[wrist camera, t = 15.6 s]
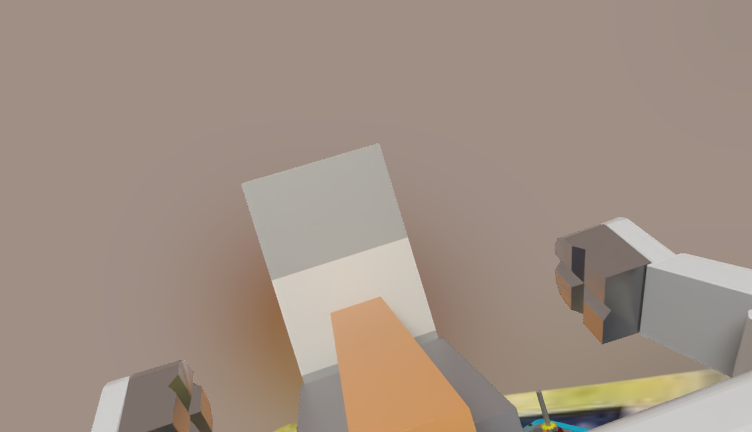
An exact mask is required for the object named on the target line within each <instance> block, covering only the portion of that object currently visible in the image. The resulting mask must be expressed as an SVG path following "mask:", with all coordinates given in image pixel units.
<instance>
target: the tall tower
mask: <svg viewBox="0 0 752 432" xmlns="http://www.w3.org/2000/svg"><path fill="white" fill-rule="evenodd" d="M241 185H242V188H243V191H244V194H245V197H246V201H247V204H248V207H249V210H250V213H251V217H252V220H253V223H254V226H255V229H256V233H257V236H258V239H259V242H260V245H261V248H262V252H263V254H264V258H265V261H266V264H267V267H268V271H269V274H270V277H271V280H272V283H273V286H274V289H275V293H276V296H277V299H278V302H279V305H280V309H281V312H282V315H283V318H284V321H285V324H286V328H287V331H288V334H289V337H290V340H291V343H292V347H293V350H294V353H295V356H296V359H297V362H298V366H299V369H300V372H301V375H302V378H303V381H304V384H306V383H309V382H312V381H315V380H318V379H321V378H324V377H326V376H329V375H332V374H335V373H338V372H339V366H338V360H337V353H336V347H335V340H334V334H333V327H332V321H331V314H330V313H331V312H334V311H337V310H340V309H343V308H347V307H350V306H353V305H356V304H359V303H362V302H365V301H368V300H371V299H374V298H377V297H380V296H381V297H382V299H383V300H384V301H385V303H386V304H387V305H388V306H389V308H390V309H391V310H392V311H393V313H394V314H395V315H396V316H397V318H398V319H399V320H400V321H401V323H402V324H403V325H404V326H405V328H406V329H407V330H408V331H409V333H410V334H411V335H412V337H413V338H414V339H415V340H416V342H417V343H418V344H419V345H420V344H423V343H426V342H429V341H432V340H435V339H437V338H438V335H437V332H436V329H435V326H434V322H433V319H432V316H431V312H430V309H429V306H428V303H427V300H426V296H425V293H424V289H423V286H422V283H421V280H420V276H419V273H418V270H417V267H416V263H415V260H414V257H413V254H412V250H411V247H410V243H409V240H408V237H407V233H406V230H405V227H404V224H403V220H402V217H401V214H400V211H399V207H398V204H397V201H396V197H395V194H394V191H393V187H392V184H391V181H390V178H389V174H388V171H387V168H386V164H385V161H384V158H383V155H382V151H381V148H380V145H379V143H378V144H374V145H371V146H367V147H364V148H361V149H357V150H354V151H351V152H347V153H344V154H340V155H337V156H333V157H330V158H327V159H323V160H320V161H317V162H313V163H310V164H306V165H303V166H300V167H296V168H293V169H290V170H286V171H283V172H279V173H276V174H272V175H269V176H266V177H262V178H259V179H256V180H252V181H249V182H245V183H242V184H241Z"/></svg>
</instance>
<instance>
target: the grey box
mask: <svg viewBox="0 0 752 432" xmlns="http://www.w3.org/2000/svg"><path fill="white" fill-rule="evenodd" d="M420 347H421V348H422V349H423V350H424V352H425V353H426V354H427V355H428V357H429V358H430V359H431V360H432V362H433V363H434V364H435V365H436V367H437V368H438V369H439V371H440V372H441V373H442V374H443V376H444V377H445V378H446V379H447V381H448V382H449V383H450V384H451V386H452V387H453V388H454V389H455V391H456V392H457V393H458V394H459V396H460V397H461V398H462V399H463V401H464V402H465V403H466V405H467V406H468V407H469V408H470V412H471V415H472V418H473V422H474V425H475V428H476V431H477V432H523V429H522V426H521V423H520V419H519V416H518V413H517V409H516V407H514V406H513V405H512V404H511V403H510V402H509V401H508V400H507V399H506V398H505V397H504V396H503V395H502V394H501V393H500V392H499V391H498V390H497V389H496V388H495V387H494V386H493V385H492V384H491V383H490V382H489V381H488V380H487V379H486V378H485V377H483V375H482V374H481V373H479V372H478V371H477V370H476V369H475V368H474V367H473V366H472V365H471V364H470V363H469V362H468V361H467V360H466V359H465V358H464V357H463V356H462V355H461V354H460V353H459V352H458V351H456V349H455V348H454V347H453V346H452V345H451V344H450V343H449V342H448V341H446V339H444V338H443V337H441V338H437V339H435V340H432V341H429V342H426V343H423V344H420ZM297 432H349V431H348V424H347V418H346V411H345V405H344V398H343V392H342V386H341V379H340V373H339V372H338V373H335V374H332V375H329V376H326V377H324V378H321V379H318V380H315V381H312V382H309V383H306V384H303V385H301V390H300V402H299V413H298V425H297Z"/></svg>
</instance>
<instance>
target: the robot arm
mask: <svg viewBox="0 0 752 432" xmlns="http://www.w3.org/2000/svg"><path fill="white" fill-rule="evenodd" d="M555 254H556V255H557V256H558V257H559V259H560V260H561V261H560V263H559V265H558V266H557V268H556V270H555V274H556V283H557V286H558V289H559V292H560V295H561V296H562V298H563V300H564V301H565V303H566V304H567V305H568V306H569V307H570V308H571V310H574V311H577V312H579V313H582V314H583V318H584V319H583V323H584V324H585V326H586V327H587V328H588V329H589V330H590V331H591V332H592V333H593V335H594V336H595V337H596V338H597V339H598V340H599V341H600V342H601V343H602V344H604V343H608V342H611V341H614V340H617V339H620V338H623V337H627V336H630V335H633V334H636V333H639V332H640V335H642V336H644V337H646V338H648V339H651V340H653V341H655V342H657V343H659V344H661V345H663V346H666V347H668V348H670V349H672V350H674V351H676V352H679V353H681V354H683V355H685V356H687V357H689V358H692V359H694V360H696V361H698V362H700V363H702V364H704V365H706V366H709V367H711V368H713V369H715V370H717V371H719V372H721V373H724V374H726V375H728V376H730V377H731V378H730V379H727V380H724V381H721V382H719V383H716V384H713V385H711V386H708V387H705V388H702V389H700V390H697V391H694V392H692V393H689V394H686V395H683V396H681V397H678V398H675V399H673V400H670V401H667V402H664V403H662V404H659V405H656V406H654V407H651V408H648V409H645V410H643V411H640V412H637V413H635V414H632V415H629V416H626V417H624V418H621V419H618V420H616V421H613V422H610V423H607V424H605V425H602V426H599V427H597V428H594V429H591V430H588V431H586V432H752V269H747V268H743V267H739V266H735V265H731V264H727V263H722V262H718V261H714V260H710V259H705V258H702V257H697V256H693V255H689V254H685V253H682V254H679V255H676V254H674V253H673V252H672V251H670V250H669V249H668V248H666V247H665V246H663V245H662V244H661V243H659V242H658V241H656V240H655V239H654V238H653V237H651V236H650V235H649V234H647V233H646V232H645V231H643V230H642V229H640V228H639V227H638V226H636V225H635V224H633V223H632V222H631V221H630V220H628V219H627V218H623V217H619V218H616V219H613V220H610V221H607V222H604V223H601V224H599V225H597V226H594V227H591V228H588V229H585V230H582V231H578V232H576V233H573V234H569V235H566V236H564V237H561V238H558V239H557V241H556V244H555ZM91 432H212V414H211V408H210V404H209V401H208V398H207V395H206V393H205V392H204V390H203V388H202V387H201V386H199V385H197V384H194V383H193V371H192V369H191V367H190V366H189V364H188V363H187V361H184V360H179V361H176V362H173V363H169V364H166V365H163V366H159V367H156V368H153V369H149V370H146V371H143V372H139V373H136V374H133V375H131V376H127V377H124V378H121V379H118V380H114V381H111V382H108V383H107V384H106V385H105V387H104V388H103V390H102V393H101V397H100V401H99V404H98V408H97V412H96V416H95V419H94V423H93V426H92V430H91Z"/></svg>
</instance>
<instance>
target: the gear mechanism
mask: <svg viewBox="0 0 752 432" xmlns="http://www.w3.org/2000/svg"><path fill="white" fill-rule="evenodd" d="M536 393H537V396H538V400H539V403H540V407H541V410H542V413H543V417H544V419H538V420H535V421H534V422H533V423H531V424H528V425H527V426H526V427H525V428H523V432H586V431H588V430H590V429H586V428H582V427H577V426H573V425H568V424H564V423H559V422H555V421H550V420H549V417H548V413H547V410H546V406H545V403H544V400H543V396H542V393H541V390H538V391H536Z"/></svg>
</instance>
